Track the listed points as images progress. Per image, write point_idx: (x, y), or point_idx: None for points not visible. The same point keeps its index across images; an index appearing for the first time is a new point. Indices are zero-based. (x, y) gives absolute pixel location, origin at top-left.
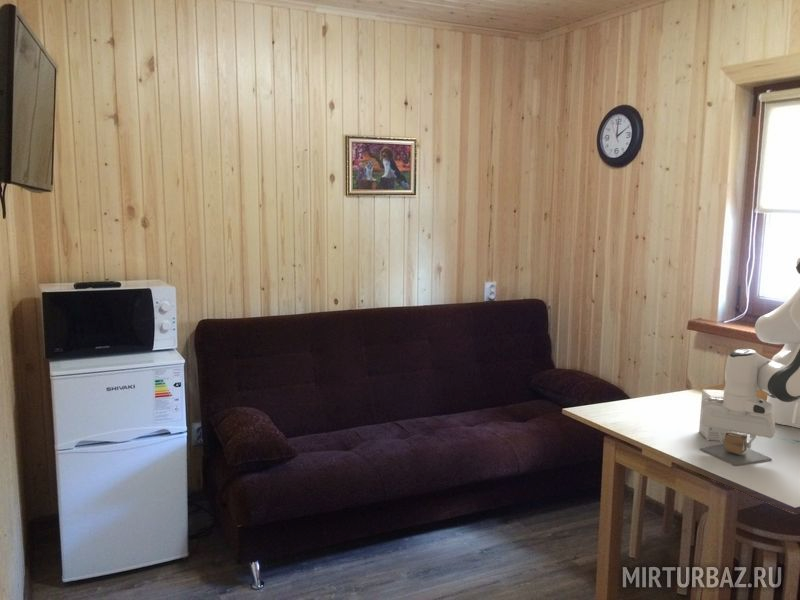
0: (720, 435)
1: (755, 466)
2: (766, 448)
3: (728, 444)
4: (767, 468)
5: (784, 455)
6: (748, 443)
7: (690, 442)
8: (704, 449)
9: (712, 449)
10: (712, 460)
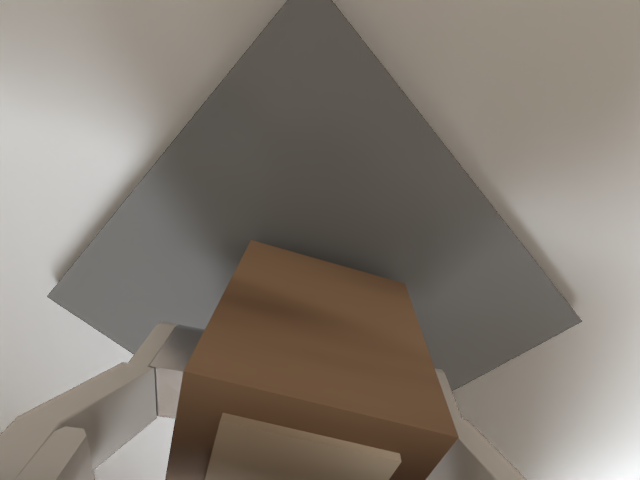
0: (482, 447)
1: (126, 84)
2: (140, 452)
3: (377, 320)
4: (22, 77)
5: (25, 392)
6: (155, 360)
7: (597, 411)
8: (554, 294)
9: (481, 317)
10: (530, 68)
